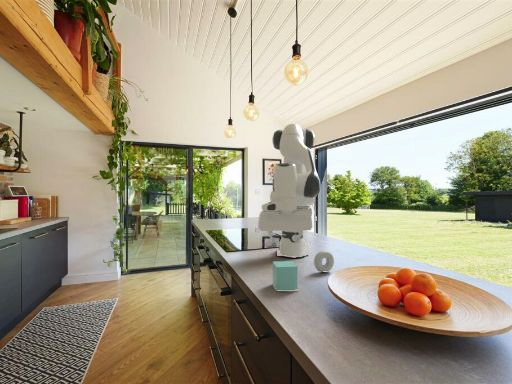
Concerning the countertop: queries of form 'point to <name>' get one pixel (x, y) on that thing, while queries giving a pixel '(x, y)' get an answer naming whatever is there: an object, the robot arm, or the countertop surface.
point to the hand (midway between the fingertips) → (285, 242)
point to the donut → (328, 263)
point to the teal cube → (284, 275)
